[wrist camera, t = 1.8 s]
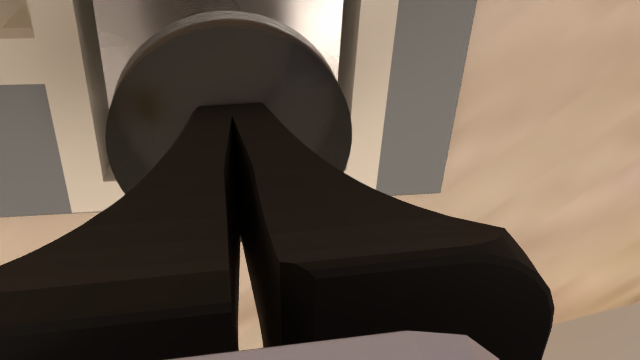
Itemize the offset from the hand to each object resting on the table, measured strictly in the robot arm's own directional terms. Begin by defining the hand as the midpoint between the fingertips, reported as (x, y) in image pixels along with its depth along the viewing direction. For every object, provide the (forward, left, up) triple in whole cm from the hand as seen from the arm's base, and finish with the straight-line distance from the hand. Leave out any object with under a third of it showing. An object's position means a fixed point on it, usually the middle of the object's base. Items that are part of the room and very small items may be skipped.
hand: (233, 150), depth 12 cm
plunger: (0, 0, -6) cm, 6 cm away
